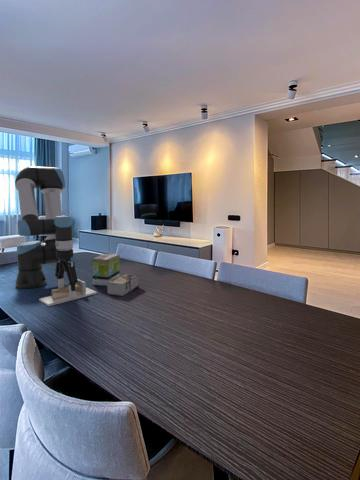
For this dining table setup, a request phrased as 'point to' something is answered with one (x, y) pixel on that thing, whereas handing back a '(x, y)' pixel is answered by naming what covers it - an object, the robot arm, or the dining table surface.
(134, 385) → the dining table surface
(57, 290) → the scraper
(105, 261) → the tea box
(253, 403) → the dining table surface
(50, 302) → the cutting board
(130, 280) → the coffee box
